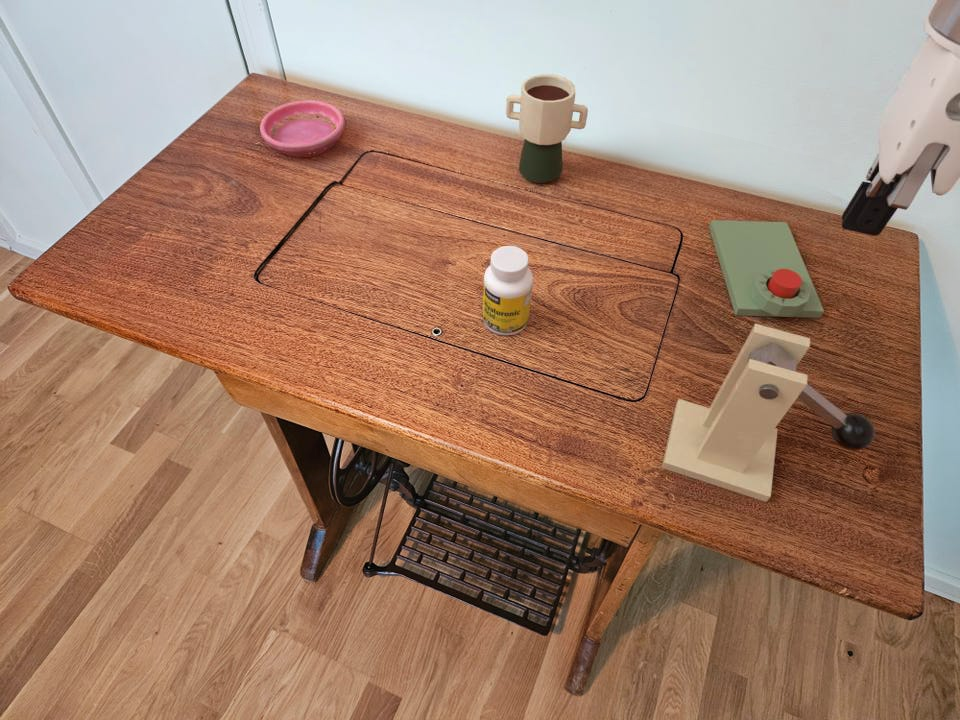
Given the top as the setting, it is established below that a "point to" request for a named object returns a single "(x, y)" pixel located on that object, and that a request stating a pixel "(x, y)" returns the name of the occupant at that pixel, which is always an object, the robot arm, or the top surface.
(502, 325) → the supplement bottle
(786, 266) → the button box
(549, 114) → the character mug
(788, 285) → the button
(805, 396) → the lever
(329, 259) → the top surface
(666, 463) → the switch bracket
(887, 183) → the robot arm
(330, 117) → the saucer
